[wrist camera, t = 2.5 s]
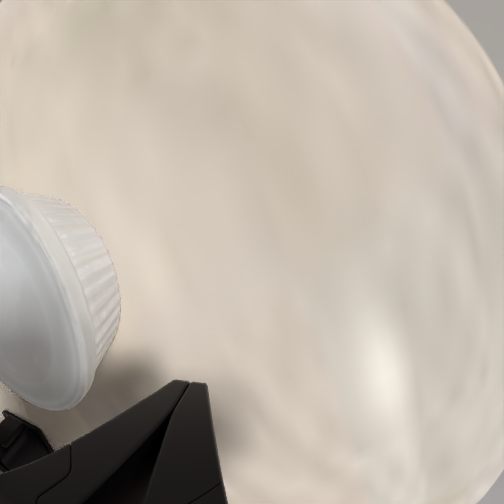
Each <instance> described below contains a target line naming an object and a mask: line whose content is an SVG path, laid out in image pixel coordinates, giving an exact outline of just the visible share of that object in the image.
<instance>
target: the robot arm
mask: <svg viewBox="0 0 504 504" xmlns="http://www.w3.org/2000/svg"><path fill="white" fill-rule="evenodd" d="M2 414H3V415H4V417H5V419H4V420H3V421H2V422H1V423H0V504H228V501H227V497H226V492H225V487H224V483H223V478H222V472H221V467H220V462H219V456H218V450H217V445H216V439H215V433H214V426H213V420H212V414H211V407H210V400H209V393H208V386H207V384H206V383H199V382H191V383H190V382H189V381H183V380H173V381H171V382H170V383H168V384H167V385H165V386H164V387H162V388H161V389H159V390H158V391H156V392H155V393H153V394H152V395H150V396H148V397H147V398H145V399H144V400H142V401H141V402H139V403H137V404H136V405H134V406H133V407H131V408H129V409H128V410H126V411H125V412H123V413H121V414H120V415H118V416H116V417H115V418H113V419H111V420H110V421H108V422H106V423H105V424H103V425H101V426H100V427H98V428H96V429H95V430H93V431H91V432H89V433H88V434H86V435H84V436H82V437H81V438H79V439H77V440H75V441H74V442H72V443H71V445H70V444H68V445H66V446H64V447H63V448H61V449H59V450H57V451H55V452H53V450H52V449H51V447H50V445H49V444H48V442H47V441H46V439H45V437H44V436H43V434H42V432H41V431H40V430H39V429H38V428H36V427H34V426H32V425H30V424H28V423H27V422H25V421H23V420H21V419H19V418H17V417H16V416H14V415H12V414H10V413H9V412H7V411H5V410H4V411H3V412H2Z"/></svg>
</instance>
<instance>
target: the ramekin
mask: <svg viewBox="0 0 504 504" xmlns="http://www.w3.org/2000/svg"><path fill="white" fill-rule="evenodd" d="M120 298H121V297H120V293H119V283H118V279H117V273H116V271H115V268H114V264H113V261H112V259H111V257H110V254H109V251H108V249H107V247H106V245H105V244H104V242H103V240H102V238H101V236H100V235H99V233H98V232H97V231H96V229H95V227H94V226H93V225H92V224H91V223H90V222H89V220H88V219H87V217H85V216H84V215H83V214H82V213H81V212H80V211H79V210H78V209H76V208H74V207H73V206H72V205H71V204H69V203H66V202H65V201H63V200H61V199H57V198H54V197H50V196H44V195H37V194H30V193H22V192H18V191H16V190H14V189H12V188H8V187H4V186H0V380H1V381H2V382H3V383H4V384H5V385H6V386H7V387H8V388H10V389H11V390H12V391H13V392H14V393H16V394H17V395H18V396H19V397H21V398H23V399H24V400H26V401H27V402H29V403H31V404H33V405H35V406H37V407H40V408H43V409H46V410H50V411H64V410H68V409H70V408H73V407H75V406H76V405H77V404H78V403H79V402H80V401H81V400H82V399H83V398H84V396H85V395H86V394H87V393H88V391H89V389H90V387H91V385H92V382H93V380H94V376H95V371H96V369H97V367H98V365H99V364H100V362H101V360H102V358H103V357H104V355H105V353H106V351H107V350H108V348H109V346H110V344H111V343H112V341H113V339H114V336H115V333H116V332H117V329H118V323H119V320H120V310H121V307H120Z"/></svg>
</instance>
